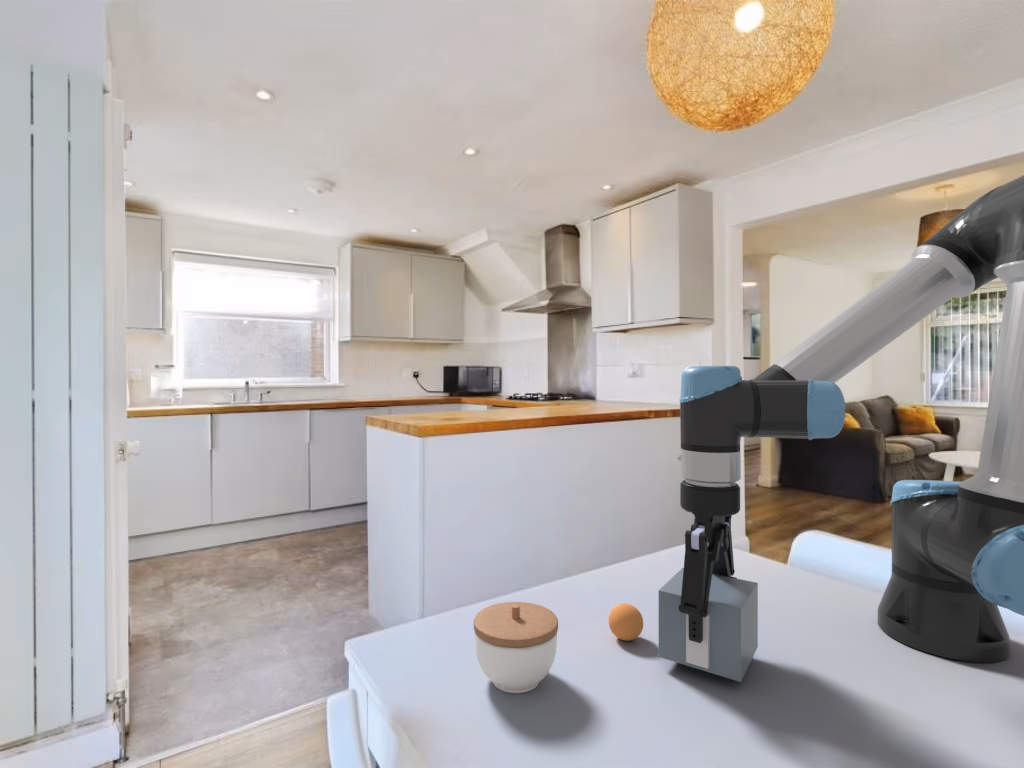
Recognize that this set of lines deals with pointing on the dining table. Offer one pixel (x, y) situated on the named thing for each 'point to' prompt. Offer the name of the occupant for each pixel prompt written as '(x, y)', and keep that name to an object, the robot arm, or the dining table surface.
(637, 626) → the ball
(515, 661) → the lidded jar
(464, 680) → the dining table surface
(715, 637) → the matte gray-blue box
